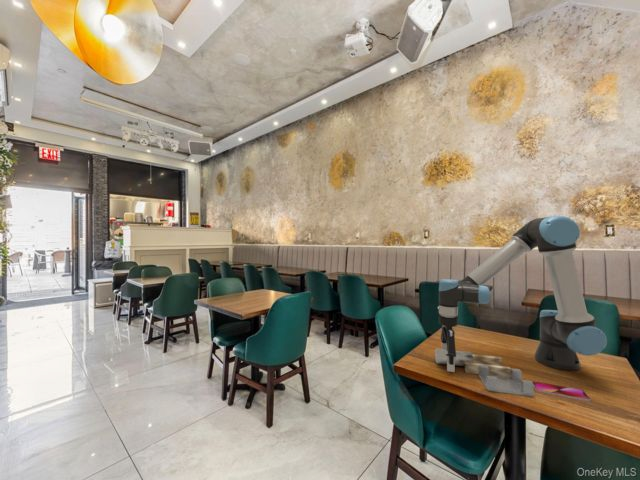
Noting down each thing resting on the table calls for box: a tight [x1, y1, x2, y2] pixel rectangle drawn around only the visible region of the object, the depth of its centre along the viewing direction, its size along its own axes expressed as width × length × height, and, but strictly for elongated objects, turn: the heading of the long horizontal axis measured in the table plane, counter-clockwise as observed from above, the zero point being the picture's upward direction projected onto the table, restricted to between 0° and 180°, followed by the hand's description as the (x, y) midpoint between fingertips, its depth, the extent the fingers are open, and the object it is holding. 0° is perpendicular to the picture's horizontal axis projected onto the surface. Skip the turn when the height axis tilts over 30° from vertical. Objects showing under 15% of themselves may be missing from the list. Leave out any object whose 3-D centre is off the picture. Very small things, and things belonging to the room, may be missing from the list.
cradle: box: [478, 365, 534, 398], centre depth 102 cm, size 14×11×4 cm
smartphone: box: [531, 381, 591, 402], centre depth 98 cm, size 7×1×15 cm
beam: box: [462, 353, 511, 377], centre depth 115 cm, size 16×12×4 cm
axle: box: [434, 348, 473, 367], centre depth 119 cm, size 14×6×6 cm, turn 75°
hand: (447, 364), depth 119 cm, fingers open, 13 cm apart
